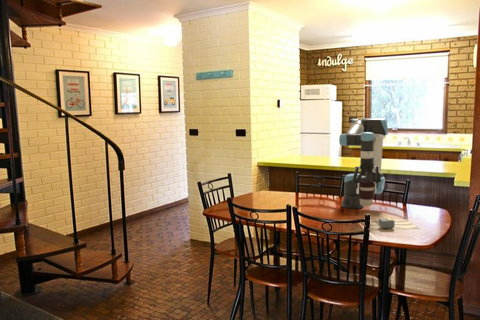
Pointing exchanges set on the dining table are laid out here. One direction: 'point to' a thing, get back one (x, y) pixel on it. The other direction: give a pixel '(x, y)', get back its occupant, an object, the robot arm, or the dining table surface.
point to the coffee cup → (366, 192)
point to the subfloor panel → (397, 225)
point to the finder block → (386, 223)
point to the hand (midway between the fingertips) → (366, 193)
